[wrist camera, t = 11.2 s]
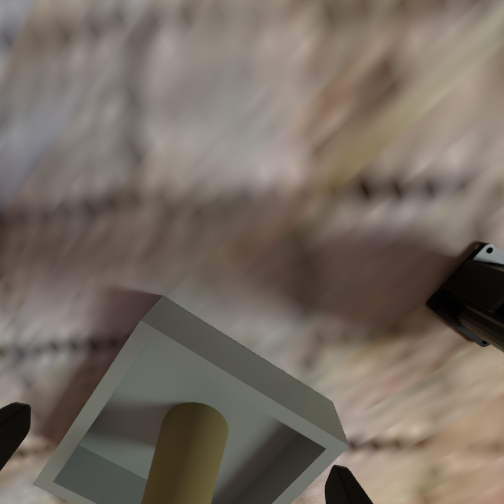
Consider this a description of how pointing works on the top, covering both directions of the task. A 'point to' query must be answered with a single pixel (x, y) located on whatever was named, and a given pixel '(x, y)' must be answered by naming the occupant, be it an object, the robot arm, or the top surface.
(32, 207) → the top surface
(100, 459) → the tray
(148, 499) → the olive gourd-shaped piece
